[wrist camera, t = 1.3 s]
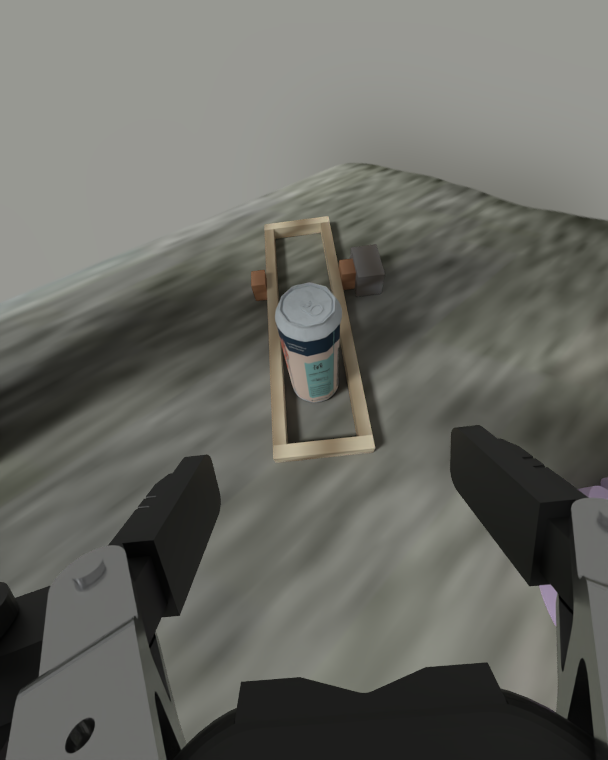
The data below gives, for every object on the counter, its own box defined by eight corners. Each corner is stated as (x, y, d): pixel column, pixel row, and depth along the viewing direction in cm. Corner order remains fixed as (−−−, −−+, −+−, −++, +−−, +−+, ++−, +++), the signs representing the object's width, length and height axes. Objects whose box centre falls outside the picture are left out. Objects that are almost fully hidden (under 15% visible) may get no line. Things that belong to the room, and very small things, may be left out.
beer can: (313, 355, 32) (304, 268, 22) (348, 380, 31) (357, 298, 20) (283, 386, 31) (257, 308, 20) (318, 413, 29) (310, 344, 19)
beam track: (258, 464, 27) (250, 457, 25) (255, 235, 42) (250, 215, 40) (424, 446, 27) (434, 437, 24) (361, 221, 42) (362, 200, 39)
